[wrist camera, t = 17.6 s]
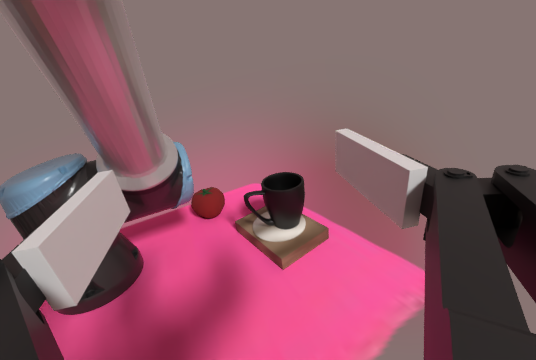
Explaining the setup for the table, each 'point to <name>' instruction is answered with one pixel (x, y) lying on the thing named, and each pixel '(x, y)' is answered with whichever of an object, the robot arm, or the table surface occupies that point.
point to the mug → (281, 199)
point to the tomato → (208, 202)
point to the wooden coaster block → (282, 237)
